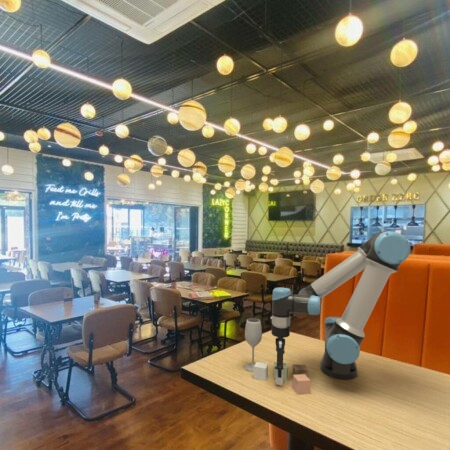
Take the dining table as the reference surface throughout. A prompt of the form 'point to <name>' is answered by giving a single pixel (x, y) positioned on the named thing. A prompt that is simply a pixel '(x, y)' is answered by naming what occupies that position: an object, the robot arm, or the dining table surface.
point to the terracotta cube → (301, 384)
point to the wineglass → (252, 337)
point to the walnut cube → (299, 369)
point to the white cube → (260, 371)
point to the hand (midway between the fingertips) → (279, 376)
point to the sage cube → (283, 371)
